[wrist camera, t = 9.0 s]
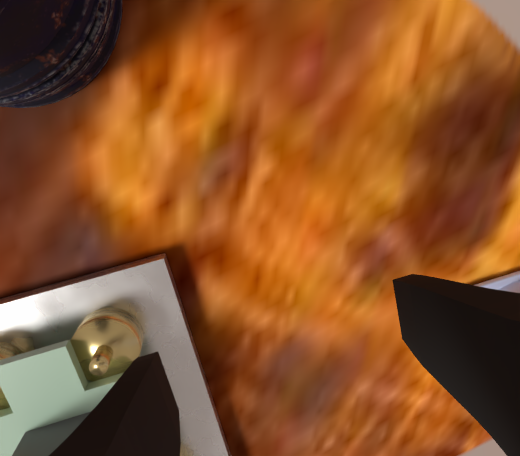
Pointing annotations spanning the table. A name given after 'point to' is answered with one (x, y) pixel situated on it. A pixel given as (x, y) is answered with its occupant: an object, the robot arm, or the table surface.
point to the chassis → (120, 337)
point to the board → (45, 399)
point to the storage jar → (53, 47)
